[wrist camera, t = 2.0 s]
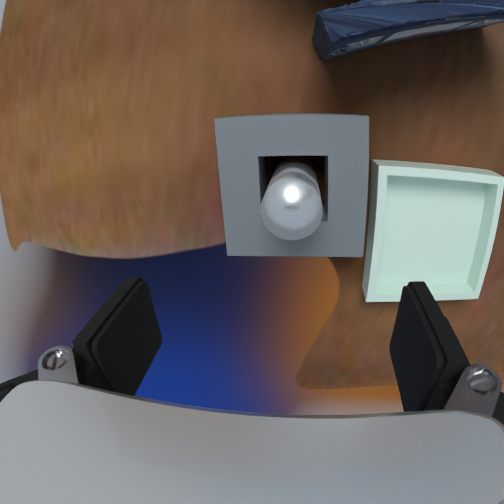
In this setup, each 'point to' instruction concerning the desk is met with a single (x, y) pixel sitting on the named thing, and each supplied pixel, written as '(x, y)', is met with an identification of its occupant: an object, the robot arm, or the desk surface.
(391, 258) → the tray
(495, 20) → the vhs cassette tape
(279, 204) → the steel pin
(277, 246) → the pin holder
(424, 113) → the desk surface
